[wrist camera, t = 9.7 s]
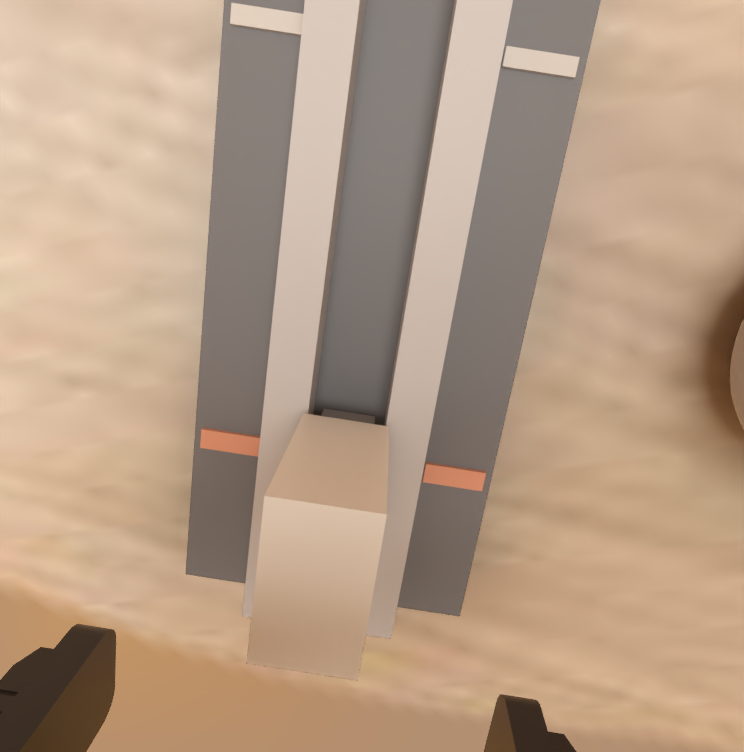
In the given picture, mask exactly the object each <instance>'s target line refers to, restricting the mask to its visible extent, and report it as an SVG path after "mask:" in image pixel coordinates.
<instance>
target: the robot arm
mask: <svg viewBox="0 0 744 752" xmlns="http://www.w3.org/2000/svg"><path fill="white" fill-rule="evenodd" d="M115 657H116V634H115V631H114V630H112V629H106V628H100V627H94V626H87V625H82V624H76V625H75V626H73V627H72V628H71V629H70V630H69V631H68V633H67V634H66V635H65V636H64V638H63V639H62V640H61V641H60V642H59V644H58V645H57V646H56V647H55V648H54V649H50V648H43V647H40V648H39V649H38V650H36V651H34V652H33V653H32V654H30V655H28V656H27V657H25V658H24V659H22V660H21V661H19V662H18V663H16V664H15V665H13V666H12V667H11V669H10V670H9V671H8V672H7V673H6V674H5V675H4V676H3V678H2V679H1V680H0V752H86V751H87V749H88V748H89V746H90V744H91V743H92V741H93V739H94V738H95V736H96V734H97V733H98V731H99V729H100V728H101V726H102V724H103V723H104V721H105V719H106V717H107V714H108V712H109V709H110V707H111V703H112V699H113V696H114V690H115ZM484 752H576V751H575V749H574V748H573V747H572V745H571V744H570V742H569V741H568V739H567V738H566V737H565V735H564V734H559V733H553V732H548V731H547V727H546V724H545V720H544V717H543V713H542V710H541V707H540V704H539V702H538V701H537V700H533V699H527V698H521V697H515V696H508V695H502V694H501V695H499V697H498V699H497V702H496V706H495V710H494V714H493V718H492V722H491V726H490V729H489V733H488V737H487V741H486V745H485V749H484Z"/></svg>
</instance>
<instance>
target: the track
mask: <svg viewBox="0 0 744 752" xmlns="http://www.w3.org/2000/svg"><path fill="white" fill-rule="evenodd" d="M600 1H601V0H224V12H223V27H222V42H221V57H220V71H219V86H218V101H217V116H216V131H215V146H214V161H213V175H212V190H211V205H210V220H209V235H208V250H207V264H206V279H205V294H204V309H203V324H202V339H201V354H200V368H199V383H198V398H197V413H196V428H195V443H194V457H193V472H192V487H191V502H190V517H189V532H188V546H187V561H186V574H188V575H194V576H201V577H207V578H214V579H220V580H227V581H233V582H240V583H245V592H244V602H243V612H242V616H243V617H250V618H251V616H252V606H253V597H254V588H255V578H256V569H257V560H258V551H259V541H260V532H261V523H262V513H263V504H264V495H265V493H266V491H267V489H268V487H269V485H270V483H271V481H272V479H273V477H274V474H275V472H276V470H277V468H278V466H279V464H280V462H281V460H282V458H283V455H284V453H285V451H286V449H287V447H288V445H289V443H290V441H291V439H292V436H293V434H294V432H295V430H296V428H297V426H298V424H299V422H300V420H301V417H302V415H303V413H305V414H312V415H318V416H321V414H322V412H323V409H324V408H325V409H331V410H337V411H344V412H350V413H357V414H363V415H370V416H375V422H374V424H376V425H383V426H389V459H388V497H387V518H386V523H385V529H384V535H383V540H382V546H381V552H380V558H379V563H378V569H377V575H376V580H375V586H374V592H373V597H372V603H371V609H370V614H369V620H368V626H367V631H366V635H367V636H373V637H380V638H386V639H391V636H392V631H393V626H394V621H395V615H396V610H397V607H402V608H409V609H415V610H422V611H428V612H435V613H441V614H447V615H454V616H460V613H461V609H462V604H463V600H464V595H465V591H466V587H467V582H468V578H469V574H470V569H471V565H472V560H473V556H474V552H475V547H476V543H477V539H478V534H479V530H480V525H481V521H482V517H483V512H484V508H485V504H486V499H487V495H488V490H489V486H490V482H491V477H492V473H493V469H494V464H495V460H496V455H497V451H498V447H499V442H500V438H501V434H502V429H503V425H504V420H505V416H506V412H507V407H508V403H509V399H510V394H511V390H512V385H513V381H514V377H515V372H516V368H517V364H518V359H519V355H520V350H521V346H522V342H523V337H524V333H525V329H526V324H527V320H528V315H529V311H530V307H531V302H532V298H533V294H534V289H535V285H536V280H537V276H538V272H539V267H540V263H541V259H542V254H543V250H544V246H545V241H546V237H547V232H548V228H549V224H550V219H551V215H552V211H553V206H554V202H555V197H556V193H557V189H558V184H559V180H560V176H561V171H562V167H563V162H564V158H565V154H566V149H567V145H568V141H569V136H570V132H571V127H572V123H573V119H574V114H575V110H576V106H577V101H578V97H579V92H580V88H581V84H582V79H583V75H584V71H585V66H586V62H587V57H588V53H589V49H590V44H591V40H592V36H593V31H594V27H595V22H596V18H597V14H598V9H599V5H600Z"/></svg>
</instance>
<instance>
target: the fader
mask: <svg viewBox="0 0 744 752" xmlns="http://www.w3.org/2000/svg"><path fill="white" fill-rule="evenodd" d="M374 422H375V416H370V415H363V414H357V413H350V412H344V411H337V410H331V409H325V408H324V409H323V412H322V414H321V416H318V415H312V414H305V413H303V415H302V417H301V420H300V422H299V424H298V426H297V428H296V430H295V432H294V434H293V436H292V439H291V441H290V443H289V445H288V447H287V449H286V451H285V453H284V455H283V458H282V460H281V462H280V464H279V466H278V468H277V470H276V472H275V474H274V477H273V479H272V481H271V483H270V485H269V487H268V489H267V491H266V493H265V495H264V504H263V513H262V523H261V532H260V541H259V551H258V560H257V569H256V578H255V588H254V597H253V606H252V616H251V625H250V634H249V644H248V653H247V662H246V664H252V665H259V666H265V667H272V668H278V669H285V670H291V671H298V672H304V673H311V674H317V675H324V676H330V677H337V678H343V679H350V680H356V681H358V677H359V671H360V666H361V660H362V654H363V648H364V643H365V637H366V631H367V626H368V620H369V614H370V609H371V603H372V597H373V592H374V586H375V580H376V575H377V569H378V563H379V558H380V552H381V546H382V540H383V535H384V529H385V523H386V518H387V497H388V459H389V426H383V425H376V424H374Z"/></svg>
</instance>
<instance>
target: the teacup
mask: <svg viewBox="0 0 744 752" xmlns="http://www.w3.org/2000/svg"><path fill="white" fill-rule="evenodd" d="M730 387H731V396H732V400H733V404H734V408H735V411H736V414H737V417H738V419H739V422H740V424H741V426H742V428H743V430H744V319H743V321H742V323H741V326H740V328H739V331H738V334H737V337H736V340H735V344H734V348H733V352H732V357H731V366H730Z"/></svg>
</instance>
